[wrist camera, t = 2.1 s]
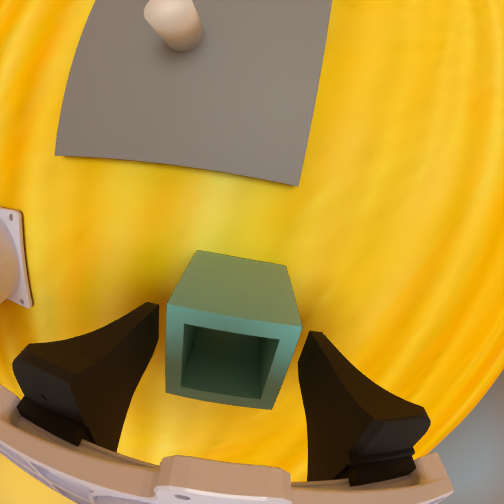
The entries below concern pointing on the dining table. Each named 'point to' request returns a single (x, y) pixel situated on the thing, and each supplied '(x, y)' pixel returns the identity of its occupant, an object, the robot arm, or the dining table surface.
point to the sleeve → (230, 331)
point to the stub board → (197, 84)
